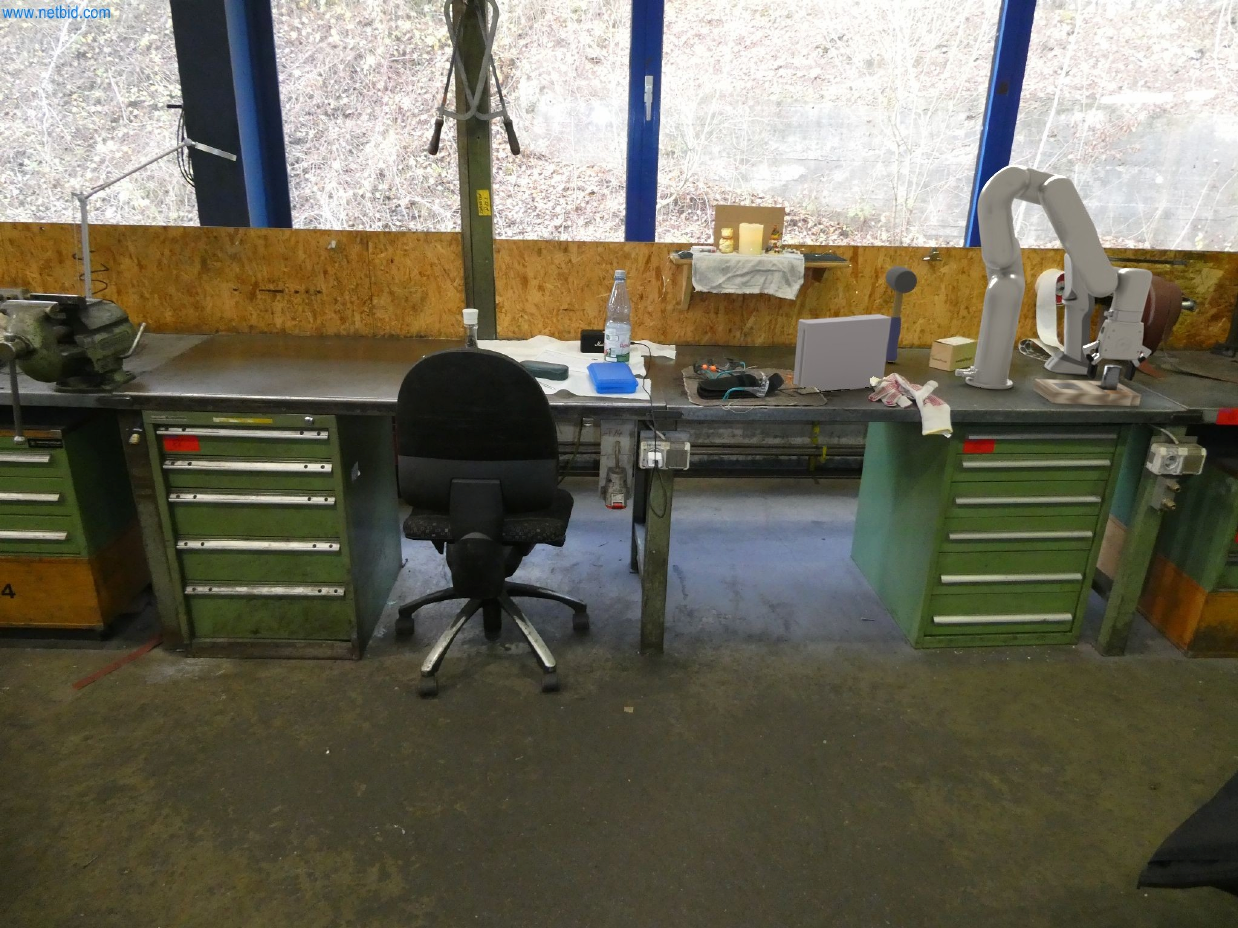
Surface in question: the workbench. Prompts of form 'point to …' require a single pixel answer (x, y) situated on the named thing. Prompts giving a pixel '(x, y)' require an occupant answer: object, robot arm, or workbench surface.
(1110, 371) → the peg
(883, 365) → the game console
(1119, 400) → the fixture board
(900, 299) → the rubber mallet
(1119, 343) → the robot arm
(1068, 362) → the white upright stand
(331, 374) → the workbench surface
